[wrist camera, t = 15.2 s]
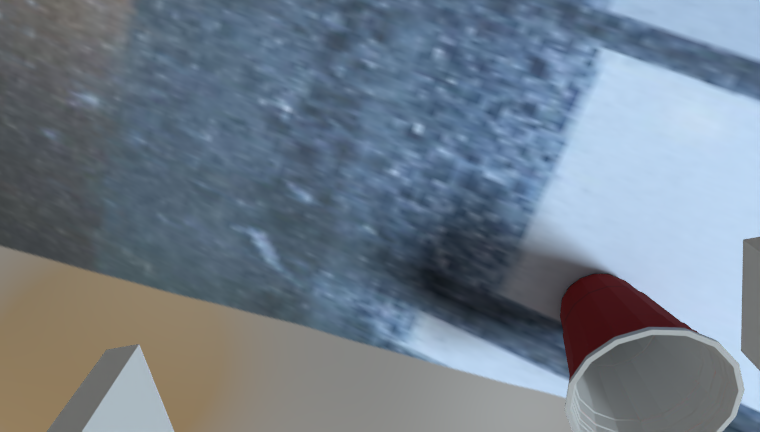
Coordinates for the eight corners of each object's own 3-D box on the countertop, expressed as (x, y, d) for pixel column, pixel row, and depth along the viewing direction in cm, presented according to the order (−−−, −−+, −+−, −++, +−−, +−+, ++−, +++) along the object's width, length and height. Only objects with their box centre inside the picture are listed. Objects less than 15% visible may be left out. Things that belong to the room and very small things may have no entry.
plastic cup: (498, 322, 50) (531, 423, 39) (586, 219, 47) (651, 297, 35) (600, 384, 52) (659, 497, 41) (691, 290, 49) (783, 385, 38)
